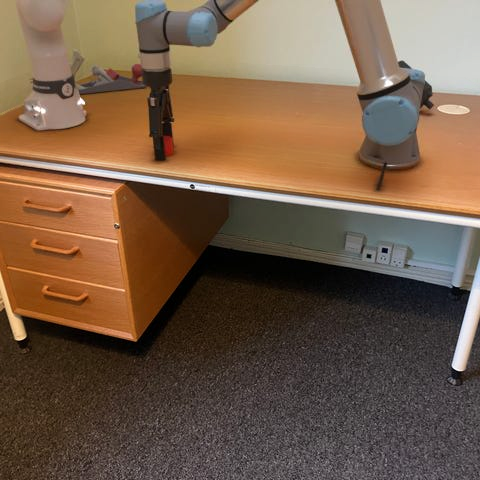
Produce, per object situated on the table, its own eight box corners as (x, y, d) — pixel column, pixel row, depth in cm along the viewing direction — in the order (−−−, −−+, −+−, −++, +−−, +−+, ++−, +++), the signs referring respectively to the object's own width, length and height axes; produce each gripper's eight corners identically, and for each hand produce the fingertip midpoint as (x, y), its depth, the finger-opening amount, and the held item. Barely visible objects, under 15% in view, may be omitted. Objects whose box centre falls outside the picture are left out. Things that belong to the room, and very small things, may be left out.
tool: (372, 91, 179) (399, 54, 168) (415, 128, 175) (445, 93, 164) (364, 95, 175) (390, 58, 165) (407, 134, 171) (437, 98, 160)
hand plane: (62, 90, 197) (53, 48, 189) (145, 82, 205) (140, 41, 197) (62, 96, 191) (54, 53, 184) (148, 87, 199) (143, 45, 191)
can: (174, 155, 144) (172, 141, 141) (157, 157, 143) (155, 142, 141) (172, 149, 148) (171, 135, 145) (155, 150, 147) (154, 136, 145)
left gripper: (-112, -8, 101) (-87, 66, 109) (-13, -19, 115) (3, 47, 122) (-127, -10, 105) (-101, 62, 112) (-29, -20, 118) (-12, 44, 126)
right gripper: (152, 57, 143) (160, 137, 155) (129, 79, 124) (140, 168, 136) (179, 57, 142) (185, 138, 154) (160, 80, 124) (169, 169, 136)
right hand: (164, 152), depth 145 cm, fingers open, 9 cm apart
